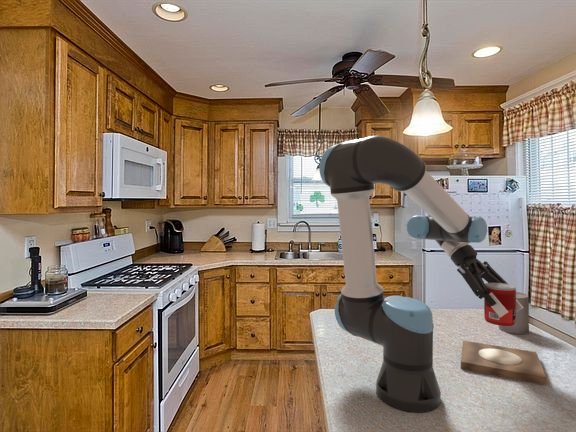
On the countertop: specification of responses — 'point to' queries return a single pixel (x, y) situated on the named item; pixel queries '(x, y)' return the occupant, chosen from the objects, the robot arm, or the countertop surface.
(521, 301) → the pillar candle
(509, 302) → the canned food
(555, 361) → the countertop surface
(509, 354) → the board
